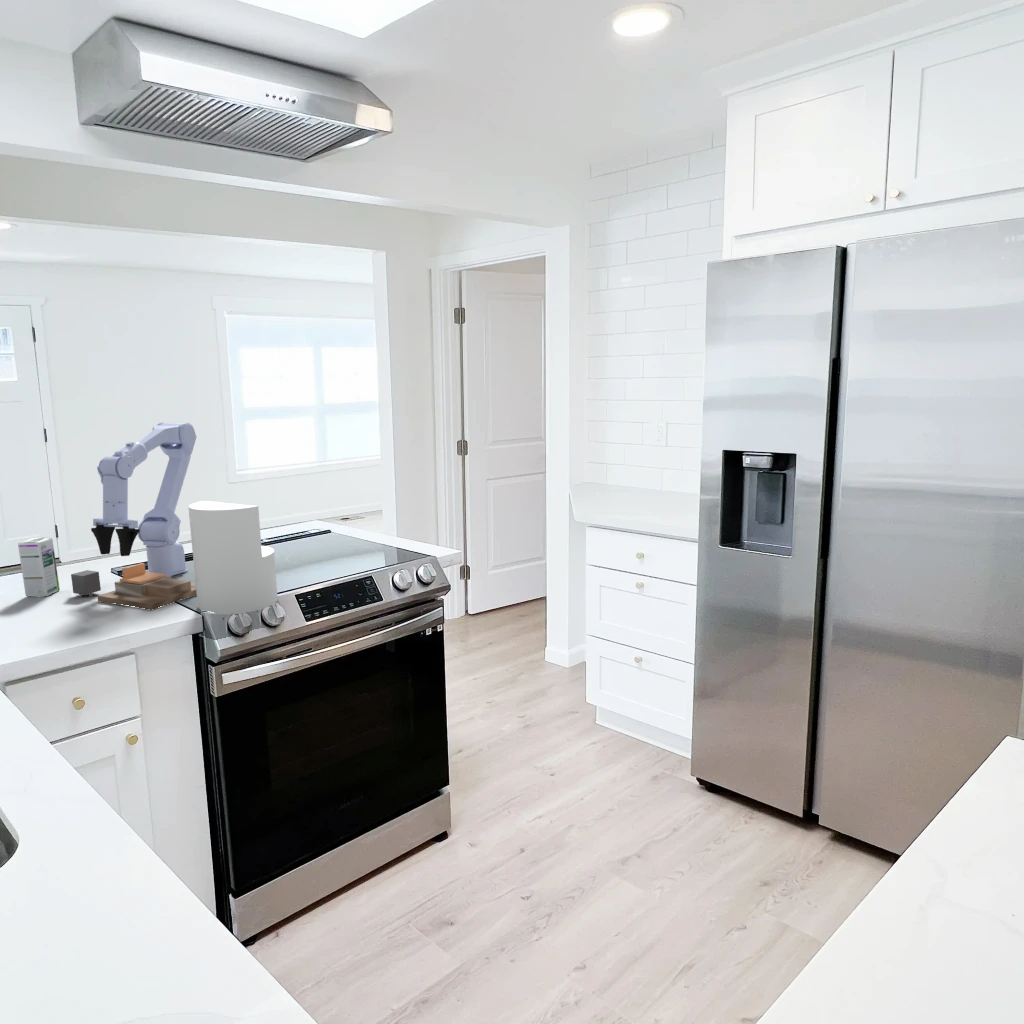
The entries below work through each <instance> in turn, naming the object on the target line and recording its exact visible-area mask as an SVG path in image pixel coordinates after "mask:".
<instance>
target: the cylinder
mask: <svg viewBox="0 0 1024 1024" xmlns="http://www.w3.org/2000/svg"><path fill="white" fill-rule="evenodd" d="M187 509H188V516H189V517H188V518H189V529H190V539H191V540H190V541H191V549H192V551H191V552H192V558H193V561H192V562H193V569H194V570H193V571H194V581H195V582H194V583H196V594H197V595H196V602H197V609H198V608H199V609H201V610H206V611H211V612H214V613H216V614H215V615H237V614H246V613H251V612H256V611H260V610H263V609H265V608H269V607H271V606H273V605H274V604H276V603H277V602H278V600H277V597H278V584H277V583H278V582H277V572H276V571H277V570H276V560H275V559H276V558H275V549H274V548H272V547H270V546H267V545H262V539H261V526H260V525H261V524H260V512H259V511H260V510H259V505H252V504H240V503H230V502H221V501H211V500H200V501H197V502H193V503H191V504H189V505H188V508H187ZM199 609H198V610H199Z"/></svg>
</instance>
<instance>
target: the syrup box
mask: <svg viewBox="0 0 1024 1024" xmlns="http://www.w3.org/2000/svg"><path fill="white" fill-rule="evenodd" d="M17 547H18V555H19V562H20V567H21V574H22V575H21V576H22V579H23V581H22V582H23V587H24V595H25V597H26V596H47V597H49V596H51V595H53V594H54V593H57V592H59V591H60V583H59V575H58V569H57V567H58V566H57V563H56V562H57V561H56V554H55V548H54V540H53V537H34V538H33V537H31V538H29V539H28V540H24V541H22V542H18V543H17ZM52 593H53V594H52Z"/></svg>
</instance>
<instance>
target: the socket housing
mask: <svg viewBox="0 0 1024 1024" xmlns="http://www.w3.org/2000/svg"><path fill="white" fill-rule="evenodd" d="M114 589H115V590H113V591H108V592H106V593H102V594H98V595H97V602H99V601H101V602H100V603H105V602H108V603H107V604H111V603H116V604H115V605H117V604H123V605H129V606H135V607H139V608H138V609H141V608H145V609H144V610H147V609H150V610H149V611H153V610H152V609H154V610H156V609H155V608H157V609H159V608H158V607H160V606H163V605H166V606H168V605H167V604H169V605H171V604H170V603H172V604H174V603H173V602H175V601H178V600H180V599H184V598H187V597H189V598H192V597H195V596H197V594H196V583H195V582H191V580H184V579H178V578H173V576H166V577H163V578H160V579H156V580H153V581H150V582H146V583H143V584H135V583H129V582H122V581H120V580H117V581H115V582H114ZM194 595H195V596H194ZM191 596H192V597H191ZM187 599H188V598H187ZM184 600H185V599H184ZM178 602H179V601H178ZM175 603H176V602H175ZM123 605H122V606H123ZM129 606H128V607H129ZM135 607H134V608H135ZM163 607H164V606H163ZM160 608H161V607H160Z"/></svg>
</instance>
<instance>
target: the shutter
mask: <svg viewBox="0 0 1024 1024" xmlns="http://www.w3.org/2000/svg"><path fill="white" fill-rule="evenodd" d="M121 572H122V573H121V574H122V578H119V581H122V582H129V583H135V584H143V583H146V582H150V581H153V580H156V579H160V578H163V577H166V576H167V574H162V573H154V572H149V571H147V570H146V564H145V563H144V562H140V563H137V564H133V565H129V566H125V567H122V568H121Z"/></svg>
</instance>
